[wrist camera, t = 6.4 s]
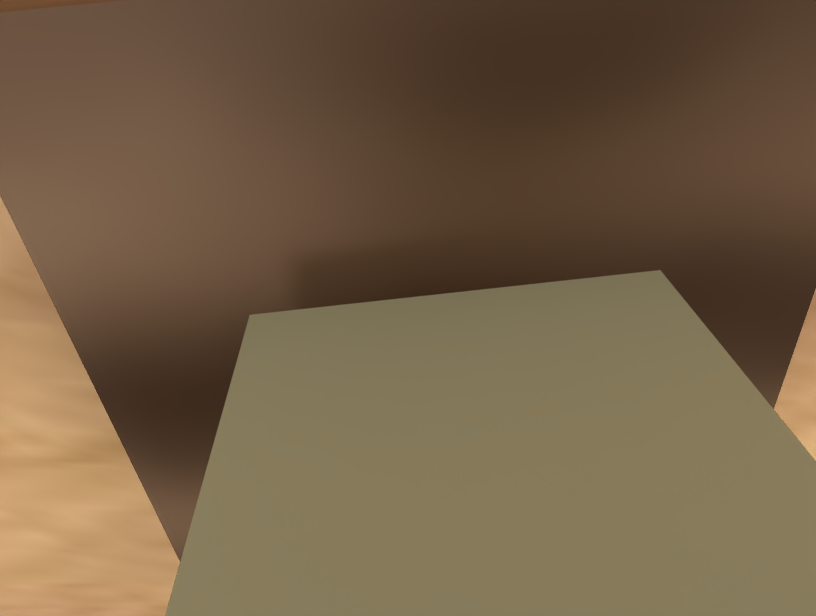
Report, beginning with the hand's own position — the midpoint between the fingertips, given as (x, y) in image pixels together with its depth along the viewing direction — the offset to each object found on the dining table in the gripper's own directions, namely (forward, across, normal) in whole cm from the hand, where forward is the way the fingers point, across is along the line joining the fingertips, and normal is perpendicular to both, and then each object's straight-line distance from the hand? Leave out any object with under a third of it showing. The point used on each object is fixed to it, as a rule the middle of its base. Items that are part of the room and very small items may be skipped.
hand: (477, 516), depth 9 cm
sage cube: (+2, 0, 0) cm, 2 cm away
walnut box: (+8, 0, 0) cm, 8 cm away
